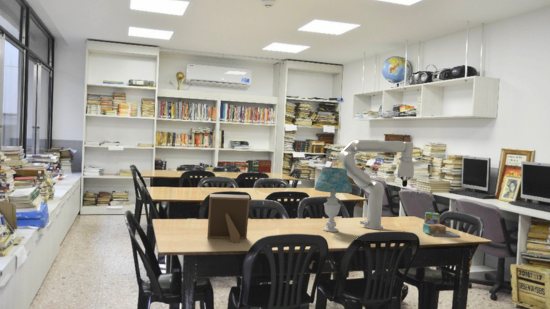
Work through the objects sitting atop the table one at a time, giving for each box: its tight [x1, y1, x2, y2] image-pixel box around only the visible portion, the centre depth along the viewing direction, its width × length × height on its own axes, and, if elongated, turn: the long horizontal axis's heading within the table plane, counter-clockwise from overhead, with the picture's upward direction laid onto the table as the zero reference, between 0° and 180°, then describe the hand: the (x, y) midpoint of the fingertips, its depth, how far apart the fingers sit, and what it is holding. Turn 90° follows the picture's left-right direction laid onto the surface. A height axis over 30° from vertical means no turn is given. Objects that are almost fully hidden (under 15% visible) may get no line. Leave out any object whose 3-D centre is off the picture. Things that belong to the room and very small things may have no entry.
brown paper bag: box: [422, 223, 447, 235], centre depth 306 cm, size 5×8×12 cm
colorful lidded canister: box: [423, 208, 441, 224], centre depth 321 cm, size 9×9×15 cm
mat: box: [422, 230, 461, 238], centre depth 307 cm, size 18×16×1 cm
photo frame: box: [207, 193, 251, 244], centre depth 257 cm, size 15×22×25 cm
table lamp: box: [314, 166, 353, 233], centre depth 298 cm, size 24×24×40 cm
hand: (404, 186), depth 319 cm, fingers closed
